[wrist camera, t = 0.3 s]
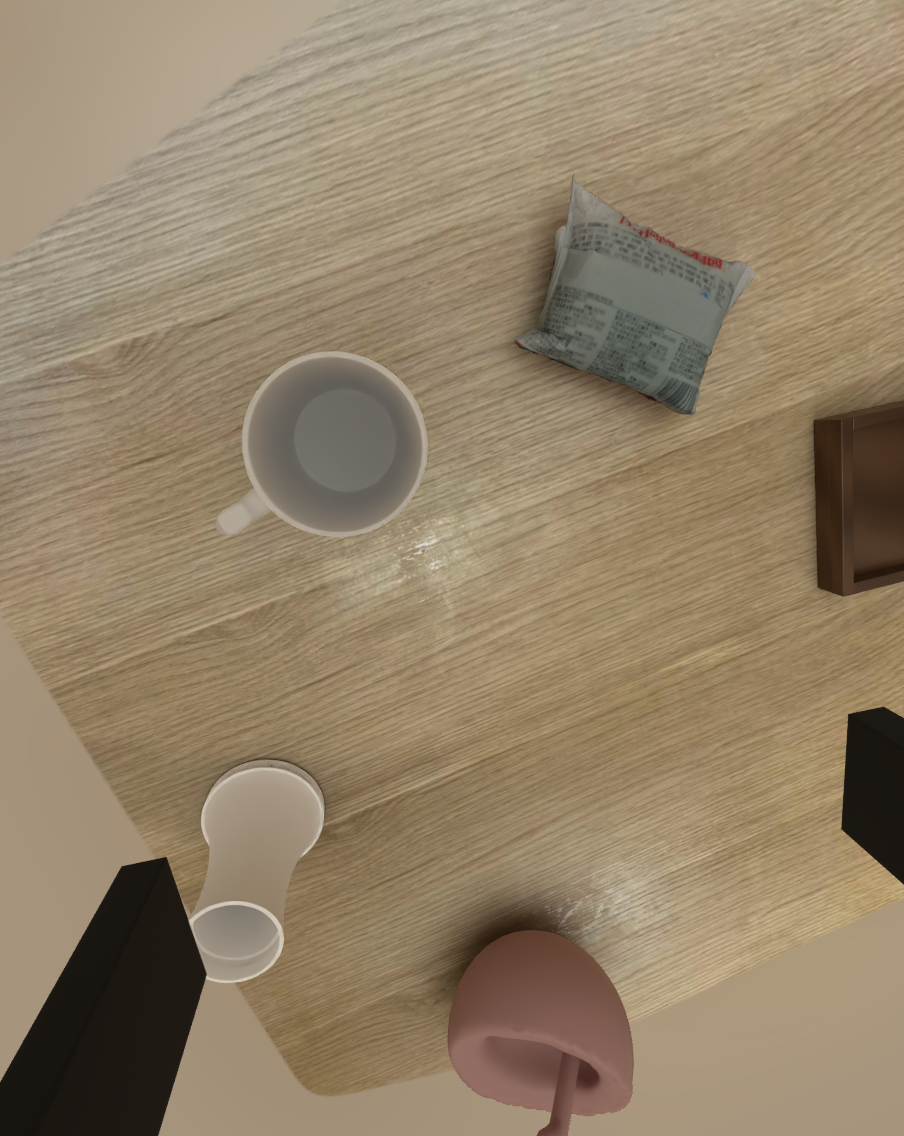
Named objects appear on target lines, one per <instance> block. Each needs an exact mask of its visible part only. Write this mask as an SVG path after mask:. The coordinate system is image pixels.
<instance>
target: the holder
mask: <svg viewBox="0 0 904 1136" xmlns="http://www.w3.org/2000/svg"><path fill="white" fill-rule="evenodd" d="M814 432H815V472H816V512H817V552H818V587H819V588H820V589H823V590H826V591H829V592H832V593H835V594H837V595H840V596H843V597H844V596H848V595H852V594H856V593H860V592H863V591H867V590H871V589H875V588H879V587H883V586H887V585H891V584H895V583H899V582H902V581H904V400H903V401H899V402H894V403H890V404H885V405H881V406H876V407H872V408H867V409H863V410H858V411H854V412H849V413H845V414H840V415H836V416H831V417H827V418H822V419H818V420H815V421H814Z"/></svg>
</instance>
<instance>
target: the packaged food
mask: <svg viewBox="0 0 904 1136" xmlns="http://www.w3.org/2000/svg"><path fill="white" fill-rule="evenodd" d="M554 250H555V252H556V255H555V259H554V263H553V268H552V270H551V275H550V279H549V287H548V292H547V297H546V303H545V306H544V308H543V311H542V313H541V314H540V317H539V327H538V329H537V330H528V331H526V332H524V333H523V334H522V335H521V336H518V337H516V339H515V343H516V344H517V345H518V346H519V347H520V348H522V349H525V350H528V351H532V352H533V353H536V354H541V355H544V356H546V357H548V358H550V359H552V360H555V361H558V362H560V363H563V364H565V365H568V366H570V367H573V368H575V369H579V370H583V371H586V372H589V373H592V374H595V375H597V376H600V377H603V378H605V379H606V380H609V381H614V382H617V383H621V384H624V385H626V386H629V387H630V388H632V389H634V390H636V391H638V392H639V393H640V394H642V395H644V396H646V397H647V398H648V399H652V400H653V401H658V402H659V403H662V404H664V405H665V406H666V407H667V408H669V409H671V410H672V411H675V412H677V413H680V414H694V413H695V412H696V404H697V399H698V397H699V386H700V383H701V380H702V378H703V374H704V371H705V368H706V364H707V361H708V356H709V355H711V353H712V348H713V345H714V342H715V339H716V337H717V335H718V333H719V330H720V328H721V326H722V321H723V320H724V318H725V316H726V315H727V313H728V311H729V310H730V309H731V308H732V306H733V305H734V304H735V302H736V300H737V299H738V297H739V296H740V295H741V294H742V293H743V292H744V290H745V289H746V287H747V286H748V284H749V283H750V282H751V281H752V280H753V278H754V276H755V271H754V270H753V269H752V268H751V267H750V265H748V264H747V263H744V262H741V261H734V262H726V261H723V260H721V259H719V258H715V257H713V256H711V255H709V254H706V253H703V252H700V251H697V250H692V249H686V248H683V247H680V246H676V245H675V244H674V243H672V242H671V241H669V240H668V239H665V238H664V237H661V236H659V235H658V234H657V233H656V232H654V231H653V230H652V229H651V228H649V227H641V226H639V225H637V224H632V223H631V222H630V221H629V220H628V219H627V218H626V217H625V216H624V215H623V214H621V213H620V212H617V211H616V210H615V209H614V208H612V207H611V206H609V205H608V204H607V203H605V202H604V201H602V200H601V199H599V198H598V197H597V196H595V195H593V194H592V193H591V192H589V191H586V189H585V188H584V187H583V186H581V185H580V184H578V183H577V182H576V181H575V180H574V175H573V178H572V187H571V198H570V206H569V211H568V220H567V223H566V226H565V227H564V225H563V226H562V227H561V228H559V229H558V230H557V233H556V235H555V248H554Z"/></svg>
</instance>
